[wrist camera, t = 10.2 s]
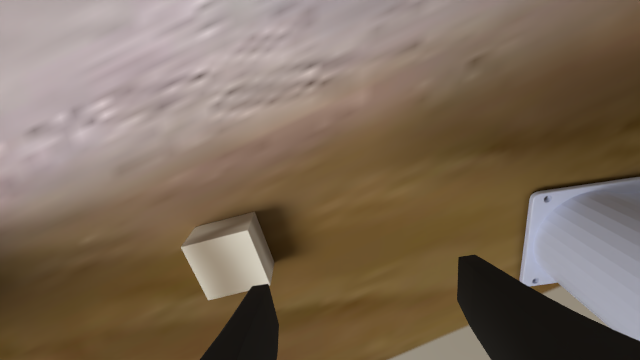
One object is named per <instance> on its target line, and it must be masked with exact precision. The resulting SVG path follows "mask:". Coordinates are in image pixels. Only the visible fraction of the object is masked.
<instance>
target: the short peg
mask: <svg viewBox="0 0 640 360" xmlns="http://www.w3.org/2000/svg"><path fill="white" fill-rule="evenodd" d="M181 249H182V250H183V252H184V254H185V256H186V258H187V260H188V262H189V264H190V266H191V268H192V270H193V272H194V273H195V275H196V277H197V279H198V281H199V283H200V285H201V287H202V289H203V291H204V293H205V295H206V297H207V298H208V300H212V299H216V298H220V297H224V296H228V295H232V294H236V293H240V292H244V291H249V290H250V288H251V287H252V286H256V285H263V284H268V285H270V284H271V278H272V273H273V267H274V260H273V258H272V255H271V253H270V250H269V247H268V245H267V242H266V240H265V237H264V235H263V232H262V230H261V227H260V224H259V222H258V219H257V217H256V214H255V212H252V213H248V214H244V215H240V216H236V217H232V218H228V219H225V220H221V221H217V222H213V223H209V224H205V225H201V226H198V227H195V228H194V229H193V231H192V232H191V234H190V235H189V237H188V238H187V239H186V241H185V242H184V244H183V245H182V246H181Z"/></svg>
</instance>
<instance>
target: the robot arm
mask: <svg viewBox="0 0 640 360" xmlns="http://www.w3.org/2000/svg"><path fill="white" fill-rule="evenodd" d="M546 196H547V198H546V199H545V200H544V198H545V197H546ZM533 279H534V280H533ZM557 282H558V283H559V284H560V285H561V286H562V287H563V288H565V289H566V290H567V291H568V292H569V293H570V294H572V295H573V296H574V297H575V298H576V299H577V300H579V301H580V302H581V303H582V304H583V305H584V306H585V307H587V308H588V309H589V310H590V311H591V312H592V313H594V314H595V315H596V316H597V317H598V318H599V319H600V320H602V321H603V322H604V323H605V324H606V325H607V326H609V327H610V328H609V327H606V326H604V325H602V324H600V323H598V322H596V321H594V320H591V319H589V318H587V317H585V316H583V315H581V314H579V313H577V312H575V311H573V310H571V309H569V308H567V307H565V306H563V305H561V304H559V303H558V302H556V301H553V300H552V299H550V298H548V297H546V296H544V295H543V294H541V293H539V292H537V291H536V290H534V289H532V288H530V287H529V286H535V285H543V284H550V283H557ZM457 300H458V303H459V305H460V307H461V309H462V311H463V313H464V315H465V317H466V319H467V321H468V323H469V325H470V327H471V329H472V330H473V332H474V333H475V335H476V336H477V338H478V340H479V341H480V343H481V344H482V346H483V348H484V349H485V351H486V352H487V354H488V355H489V357H490V358H491V360H640V177H634V178H627V179H620V180H613V181H606V182H600V183H593V184H586V185H579V186H572V187H565V188H558V189H551V190H544V191H538V192H535V193H533V194H532V195H531V196H530V200H529V208H528V216H527V224H526V232H525V241H524V249H523V257H522V265H521V273H520V281H518V280H517V279H515V278H513V277H512V276H510V275H508V274H507V273H505V272H503V271H502V270H500V269H498V268H497V267H495V266H493V265H492V264H490V263H488V262H487V261H485V260H483V259H482V258H480V257H478V256H476V255H470V256H463V257H459V261H458V292H457ZM278 331H279V324H278V320H277V316H276V312H275V308H274V304H273V300H272V296H271V292H270V289H269V285H268V284H263V285H256V286H252V287H251V288H250V290H249V291H248V293H247V294H246V296H245V297H244V299H243V300H242V302H241V303H240V305H239V307H238V308H237V310H236V311H235V312H234V314H233V315H232V317H231V318H230V320H229V321H228V323H227V324H226V325H225V327H224V328H223V330H222V331H221V333H220V334H219V335H218V337H217V338H216V339H215V341H214V342H213V343H212V344H211V346H210V347H209V348H208V350H207V351H206V352H205V353H204V355H203V356H202V357H201V359H200V360H276V359H277V352H278Z"/></svg>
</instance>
